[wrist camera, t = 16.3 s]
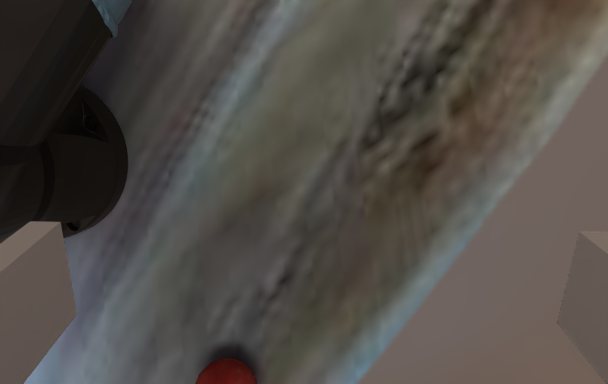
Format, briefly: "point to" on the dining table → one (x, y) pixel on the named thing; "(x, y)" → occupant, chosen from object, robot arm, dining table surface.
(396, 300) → the dining table surface
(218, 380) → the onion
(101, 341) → the dining table surface
